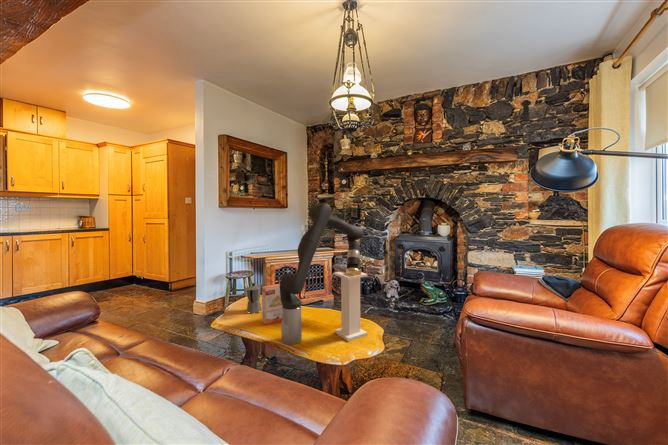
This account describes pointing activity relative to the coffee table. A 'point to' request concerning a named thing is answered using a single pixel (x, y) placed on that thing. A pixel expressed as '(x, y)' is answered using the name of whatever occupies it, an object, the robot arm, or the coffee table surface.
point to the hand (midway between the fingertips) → (351, 285)
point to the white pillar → (350, 307)
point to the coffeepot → (253, 298)
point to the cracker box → (271, 304)
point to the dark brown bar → (348, 270)
